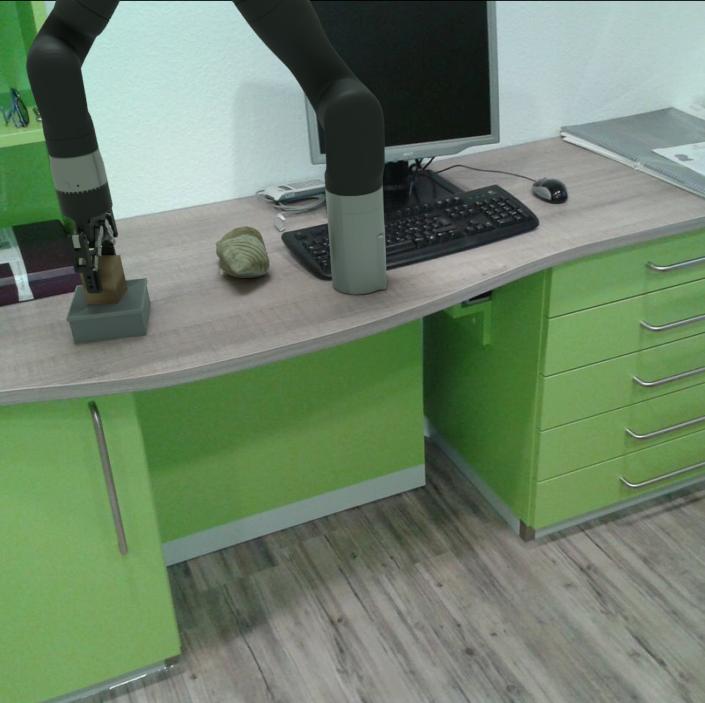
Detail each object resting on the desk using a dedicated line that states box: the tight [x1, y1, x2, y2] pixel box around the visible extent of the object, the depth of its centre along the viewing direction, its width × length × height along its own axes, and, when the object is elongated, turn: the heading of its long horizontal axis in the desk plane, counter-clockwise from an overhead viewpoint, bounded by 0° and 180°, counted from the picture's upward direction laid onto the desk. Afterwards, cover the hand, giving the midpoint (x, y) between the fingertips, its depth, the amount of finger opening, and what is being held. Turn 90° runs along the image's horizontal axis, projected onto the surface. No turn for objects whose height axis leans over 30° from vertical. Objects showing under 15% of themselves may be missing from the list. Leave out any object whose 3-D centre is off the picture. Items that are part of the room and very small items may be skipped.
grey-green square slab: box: [65, 277, 151, 344], centre depth 133 cm, size 11×11×5 cm
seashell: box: [215, 226, 270, 279], centre depth 146 cm, size 14×9×10 cm
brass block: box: [79, 254, 127, 304], centre depth 130 cm, size 5×5×6 cm
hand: (103, 280), depth 130 cm, fingers open, 8 cm apart
